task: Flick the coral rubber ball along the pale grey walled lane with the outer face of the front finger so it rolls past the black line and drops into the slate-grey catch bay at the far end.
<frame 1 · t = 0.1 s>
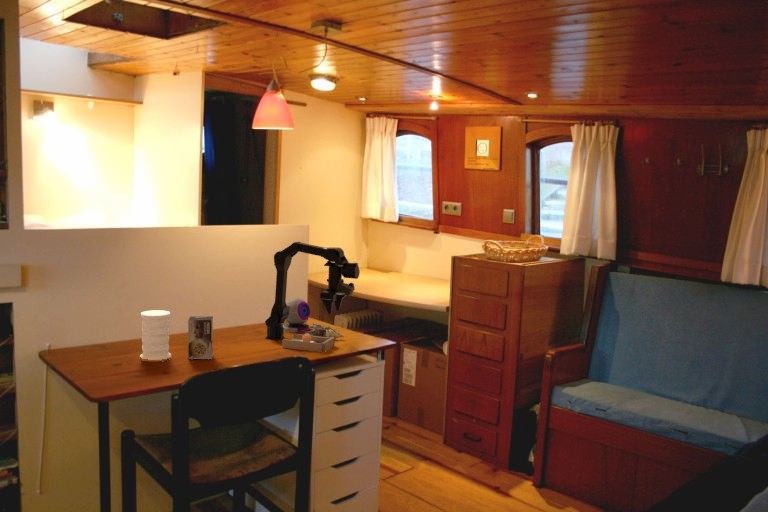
hand: (333, 312, 286), 15 cm above the table, tool pointing down, fingers open, 9 cm apart
figurine: (325, 338, 300), on the table
coffee box: (200, 358, 259), on the table
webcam: (295, 329, 314), on the table
ball: (306, 338, 283), point 3 cm above the table, touching throwing lane
decorative container: (155, 358, 256), on the table
throwing lane: (308, 346, 283), on the table
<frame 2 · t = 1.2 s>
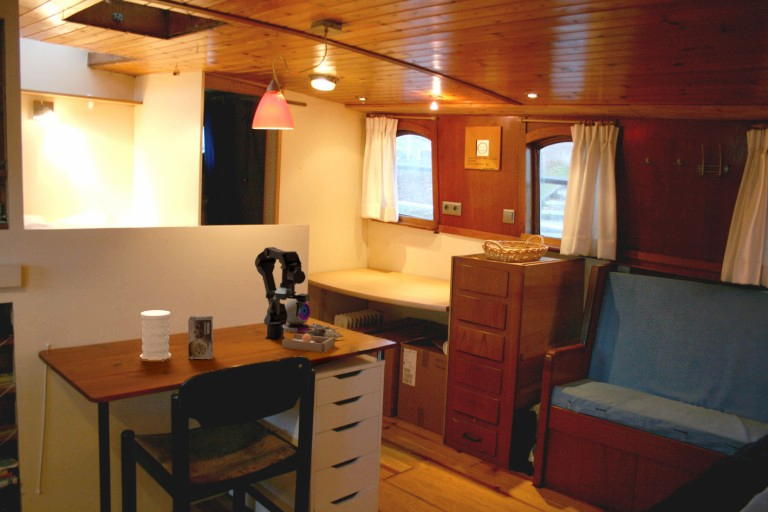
hand: (287, 315, 284), 12 cm above the table, tool pointing down, fingers open, 9 cm apart
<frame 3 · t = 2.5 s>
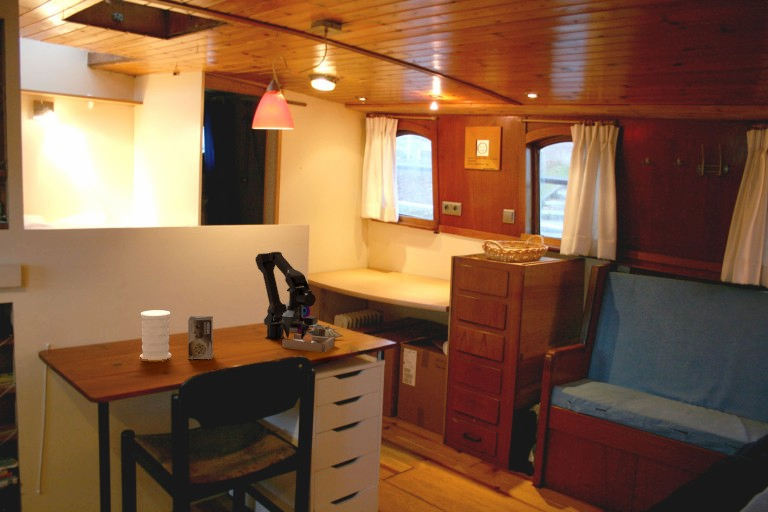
hand: (295, 338, 284), 3 cm above the table, tool pointing down, fingers open, 7 cm apart
ball: (307, 338, 282), point 3 cm above the table, tilted 12°, touching gripper, throwing lane
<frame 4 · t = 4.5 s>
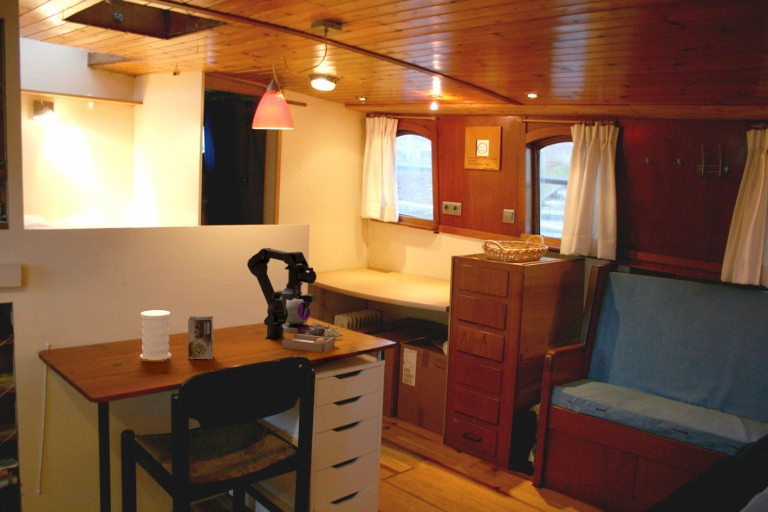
hand: (293, 315, 287), 12 cm above the table, tool pointing down, fingers open, 9 cm apart
ball: (320, 342, 281), point 2 cm above the table, tilted 163°, touching throwing lane
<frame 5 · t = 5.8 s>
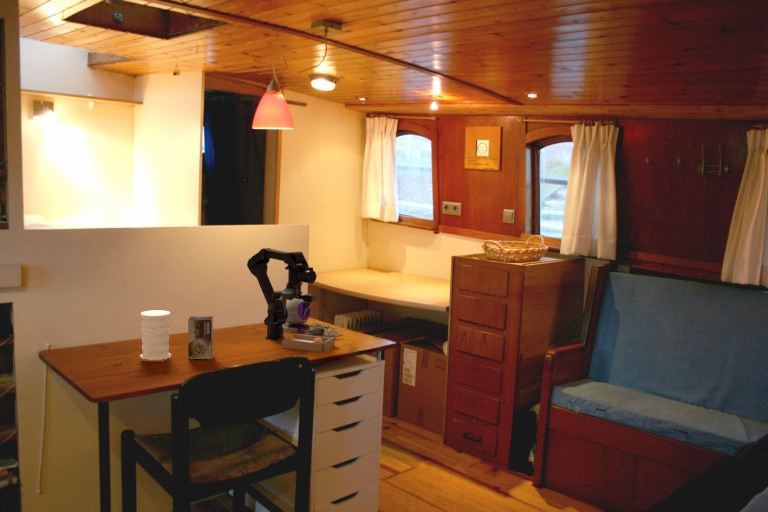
hand: (293, 315, 287), 12 cm above the table, tool pointing down, fingers open, 9 cm apart
ball: (318, 342, 281), point 2 cm above the table, tilted 164°, touching throwing lane
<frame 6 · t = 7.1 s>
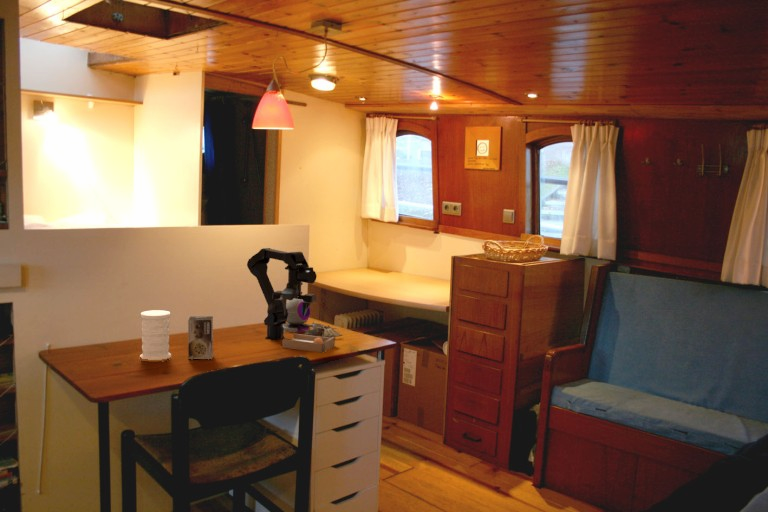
hand: (293, 315, 287), 12 cm above the table, tool pointing down, fingers open, 9 cm apart
at the end: ball inside the target area (1.1 cm from its centre), point 2.5 cm above the table; ball moved 5.5 cm from its start; the gripper is holding nothing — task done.
